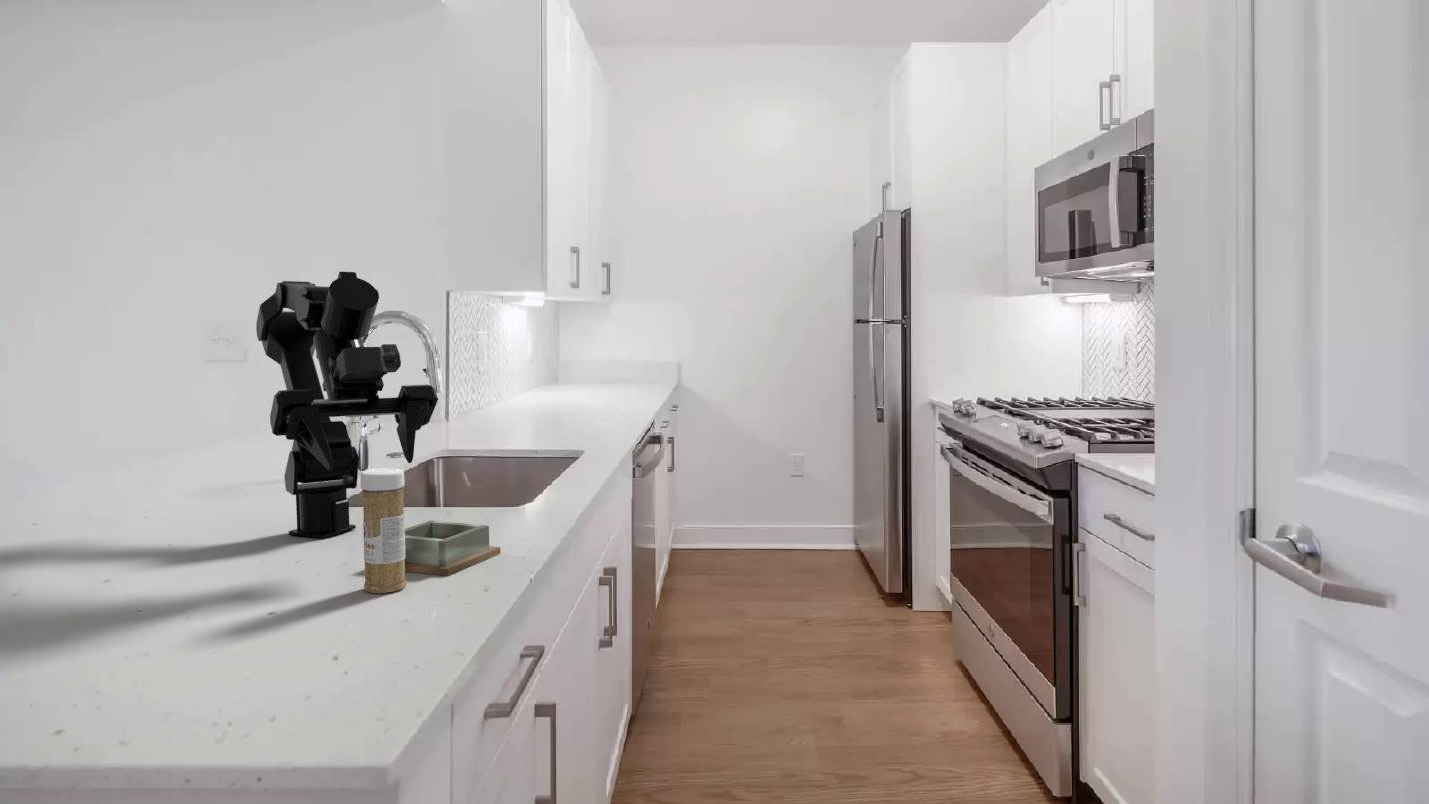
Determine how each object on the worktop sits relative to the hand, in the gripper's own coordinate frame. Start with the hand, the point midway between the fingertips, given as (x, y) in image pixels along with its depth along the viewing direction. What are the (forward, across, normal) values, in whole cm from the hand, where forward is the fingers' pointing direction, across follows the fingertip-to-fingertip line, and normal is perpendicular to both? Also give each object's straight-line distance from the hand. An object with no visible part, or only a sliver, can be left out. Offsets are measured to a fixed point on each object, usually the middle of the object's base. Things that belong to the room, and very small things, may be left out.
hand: (372, 464), depth 104 cm
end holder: (+10, +8, +9) cm, 15 cm away
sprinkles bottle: (+15, -1, +3) cm, 15 cm away
